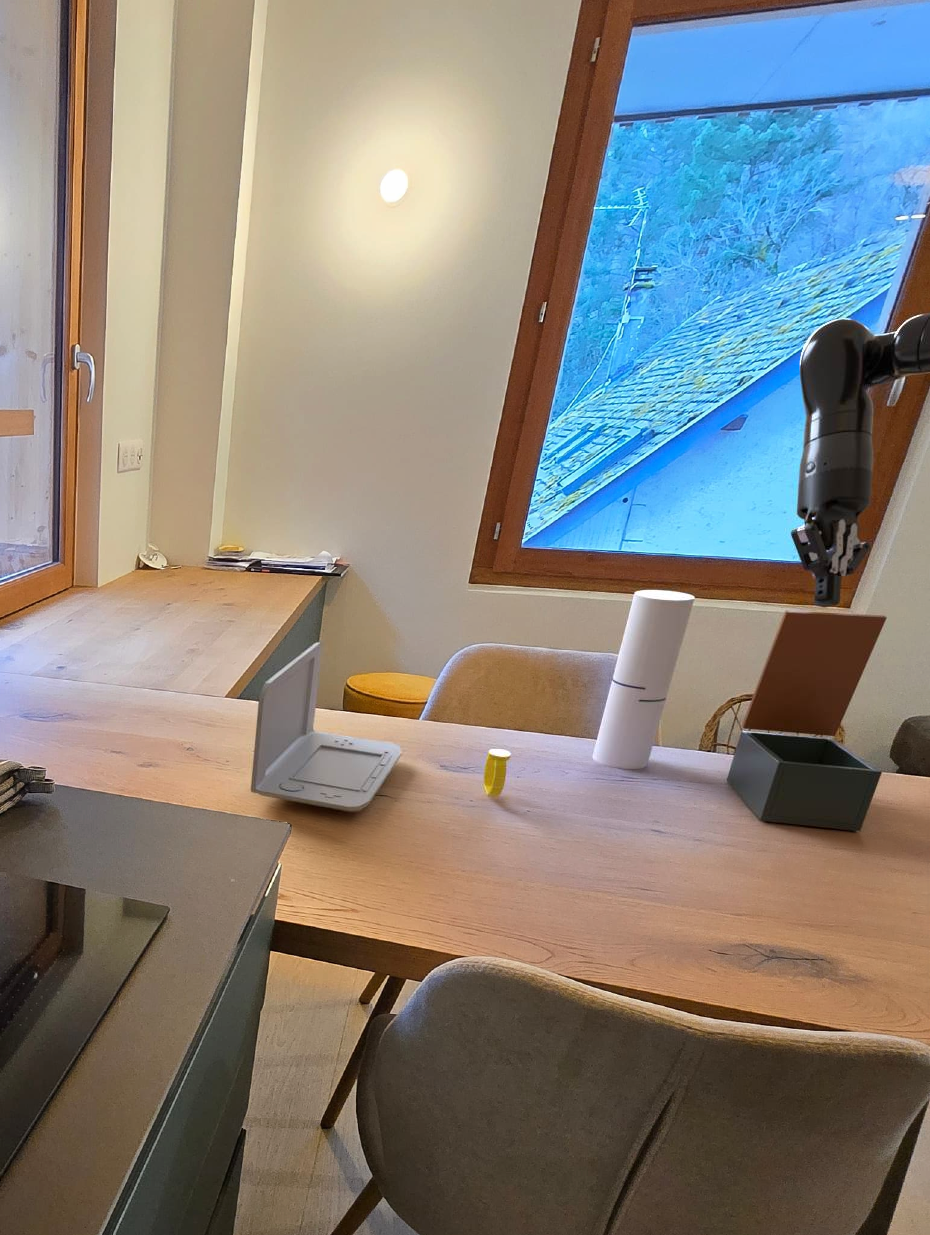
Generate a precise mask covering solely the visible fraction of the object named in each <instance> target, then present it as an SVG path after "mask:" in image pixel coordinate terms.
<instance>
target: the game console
mask: <svg viewBox="0 0 930 1235" xmlns="http://www.w3.org/2000/svg"><path fill="white" fill-rule="evenodd" d="M322 656H323V645H322V643H321V642H317V641H316V642H314V644H312V645H311V646H309V647H308V648H307V649H306V650H304V651H303V652H302V653H300V654H299V655H298V656H297V657H295V659H292V661H290V662H289V663H288V664H287V665H285V666H284V667H282V669H280V670H279V671H278V672H276V673H275V674H274V675H273V676H271V677H270V678H269V679H268V680H266V681H265V682H264V684H263V686H262V688H261V691H260V695H259V697H258V705H257V715H256V718H257V719H256V727H255V736H254V750H253V761H252V771H251V772H252V773H251V781H250V792H251V793H253V794H258V795H259V796H263V797H268V798H272V799H279V800H283V801H289V802H290V801H291V802H294V803H295V802H296V803H300V804H305V805H312V806H316V807H322V808H328V809H333V810H339V811H344V812H348V813H351V812H352V813H353V812H355V813H356V812H360V811H362V810H363V809H365V808H366V807H368V805H369V804H370V803H371V801H372V799H373V798H374V797H375V796H376V794H377V792H378V791H379V790H380V788H381V787H382V785H383V783H384V782H385V780H386V779H387V778H388V776H389V774H390V773H391V772H392V770H393V769H394V767H395V765H396V764H397V763H398V761H399V760H400V758H401V757H402V755H403V750H402V748H401V745H399V744H397V743H395V742H389V741H382V740H378V739H377V740H376V739H370V738H362V737H358V736H357V737H355V736H351V735H350V736H349V735H342V734H335V733H329V732H322V731H316V730H314V725H315V724H314V723H315V716H316V707H317V698H318V691H319V683H320V682H319V680H320V674H321V673H320V672H321V665H322V664H321V663H322Z"/></svg>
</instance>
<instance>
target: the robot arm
mask: <svg viewBox="0 0 930 1235" xmlns="http://www.w3.org/2000/svg"><path fill="white" fill-rule="evenodd" d="M925 374H930V312H928V313H923V314H919V315H916V316H913V317H911V318H909V319H907V320H906V321H905V322H904V323H902V325H900V327H899V328H898V329H897V331H893V332H889V333H884V334H883V333H882V334H873V332H871V331H870V330H869V329H868V327H867V326H866V325H865V324H863V323H862V322H860V321H858V320H855V319H852V318H838V319H834V320H831V321H829V322H827V323H825V324H823V325H821V326H819V328H818V329H816V330H815V331H814V332H813V333H812V334H811V335H810V337H809V338H808V339H807V341H806V343H805V344H804V346H803V349H802V352H801V355H800V360H799V380H800V387H801V395H802V402H803V407H804V412H805V420H804V421H805V422H804V429H803V431H804V433H803V449H802V453H801V454H802V455H801V459H800V463H799V471H798V488H797V489H798V490H797V503H796V504H797V506H796V515H797V516H798V518H800V519H802V520H804V522H803V523H804V524H803V525H802V526H801V527H796V528H794V529H792V530H791V531H790V536H791V538H792V542H793V545H794V546H795V550H796V552H797V554H798V557H799V559H800V563H801V564H802V567H803V570H804V571H805V572H808V571H810V572H811V576H812V578H813V579H815V583H814V599H813V603H814V605H815V606H817V607H820V608H830V607H834V606H837V605H839V604H840V602H841V591H842V590H841V589H842V580H843V577H845V576H850V575H854V574H855V573H856V571H857V569H858V568H859V566H860V565H861V563H862V562H863V560H864V559H865V557H867V554H868V553H869V551H870V550H871V544H870V542H869V541H864V542H861V540H860V539H859V537H858V535H859V532H860V525H859V520H858V517H859V516H860V514H861V513H863V512H864V511H866V510H867V509H868V508H869V507H870V505H871V500H872V486H873V485H872V484H873V470H874V469H873V468H874V447H873V426H874V425H873V424H874V404H873V399H872V398H871V396H870V394H869V393H868V390H867V389H869V388H873V387H876V386H880V385H885V384H888V383H891V382H895V381H896V380H900V379H903V378H906V377H908V376H914V375H925Z"/></svg>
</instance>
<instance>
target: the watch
mask: <svg viewBox="0 0 930 1235" xmlns="http://www.w3.org/2000/svg"><path fill="white" fill-rule="evenodd" d="M511 755H512V754H511V752H510V751H508V750H505V749H502V748H501V749H500V748H491V749H489V750H488V751H487V758H486V760H485V765H484V771H483V788H484V791H485V793H486V796H487V797H499V796H500V795H501V794H502V792H503V789H504V787H505V781H506V777H507V761H509V760H511Z"/></svg>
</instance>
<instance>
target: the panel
mask: <svg viewBox="0 0 930 1235" xmlns="http://www.w3.org/2000/svg"><path fill="white" fill-rule="evenodd" d="M887 619H888V617H887V616H886V615H883V614H882V615H881V614H880V615H879V614H863V613H862V614H861V613H844V612H843V613H841V612H823V611H822V612H821V611H819V612H818V611H804V610H803V611H801V610H784V613H783V616H782V618H781V621H780V623H779V626H778V628H777V631H776V634H775V637H774V639H773V642H772V644H771V647H770V650H769V652H768V655H767V658H766V661H765V663H764V666H763V669H762V670H761V674H760V677H759V679H758V682H757V685H756V687H755V690H754V693H753V695H752V698H751V701H750V703H749V705H748V709H747V711H746V714H745V716H744V719H743V722H742V724H741V728H742V729H745V730H755V731H767V732H779V733H791V734H793V733H794V734H802V735H803V734H804V735H817V736H825V737H826V736H827V737H836V735H837V733H838V731H839V729H840V726H841V724H842V721H843V720H844V717H845V715H846V713H847V710H848V708H849V705H850V704H851V701H852V698H853V696H854V694H855V692H856V690H857V687H858V685H859V682H860V680H861V678H862V676H863V673H864V671H865V669H866V667H867V664H868V662H869V659H870V657H871V655H872V653H873V650H874V648H875V646H876V644H877V641H878V639H879V636H880V635H881V632H882V630H883V628H884V625H885V623H886V621H887Z"/></svg>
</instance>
